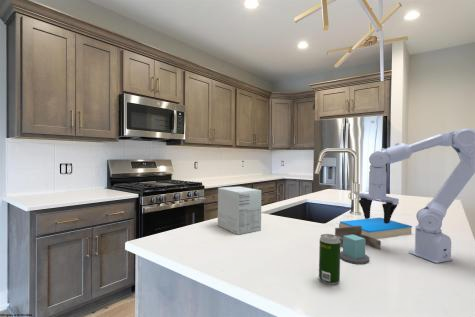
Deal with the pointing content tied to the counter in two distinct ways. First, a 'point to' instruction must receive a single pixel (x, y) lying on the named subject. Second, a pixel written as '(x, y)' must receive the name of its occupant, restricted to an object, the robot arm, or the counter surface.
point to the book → (378, 227)
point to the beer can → (329, 259)
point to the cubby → (358, 232)
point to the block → (354, 246)
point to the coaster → (354, 261)
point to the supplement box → (239, 209)
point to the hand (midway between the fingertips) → (376, 220)
